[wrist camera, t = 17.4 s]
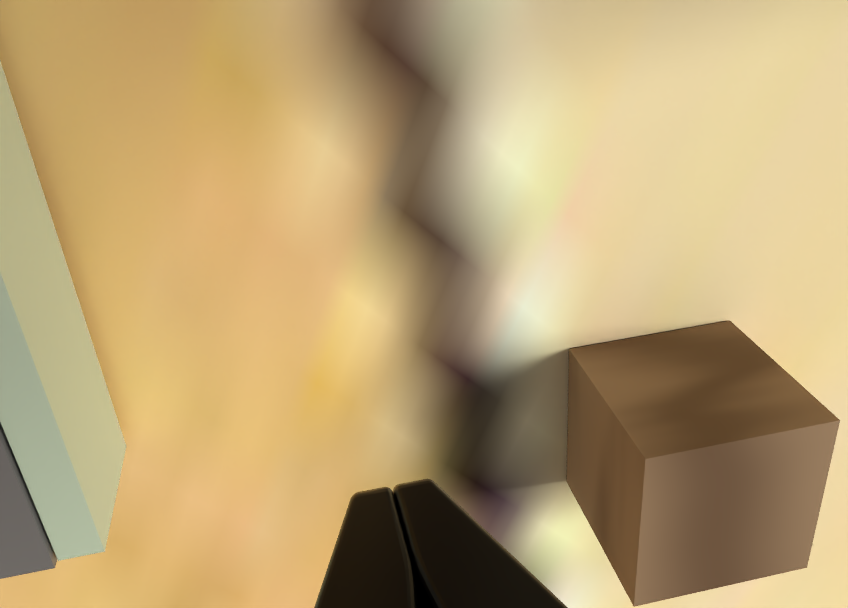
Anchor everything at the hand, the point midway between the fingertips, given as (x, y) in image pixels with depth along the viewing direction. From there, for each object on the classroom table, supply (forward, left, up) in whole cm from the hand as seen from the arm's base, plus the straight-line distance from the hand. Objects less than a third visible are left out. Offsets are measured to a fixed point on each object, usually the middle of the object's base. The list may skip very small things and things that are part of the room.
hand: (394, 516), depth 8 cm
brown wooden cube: (-9, +9, -12) cm, 17 cm away
